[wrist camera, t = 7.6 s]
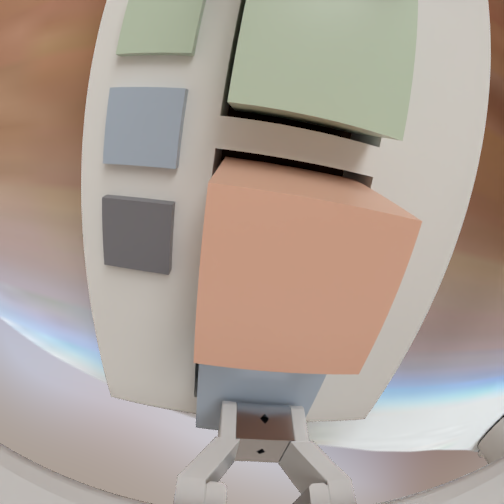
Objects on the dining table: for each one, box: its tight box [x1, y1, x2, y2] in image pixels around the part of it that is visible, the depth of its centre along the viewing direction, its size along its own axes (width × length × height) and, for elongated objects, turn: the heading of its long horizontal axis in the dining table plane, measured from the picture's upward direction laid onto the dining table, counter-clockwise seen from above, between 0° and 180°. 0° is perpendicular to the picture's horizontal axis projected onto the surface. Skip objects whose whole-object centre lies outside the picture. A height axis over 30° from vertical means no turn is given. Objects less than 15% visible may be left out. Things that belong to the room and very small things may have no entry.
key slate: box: [196, 364, 327, 430], centre depth 12 cm, size 4×4×4 cm
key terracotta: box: [193, 157, 422, 374], centre depth 8 cm, size 4×4×4 cm
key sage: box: [227, 0, 418, 141], centre depth 7 cm, size 4×4×4 cm
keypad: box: [81, 0, 491, 421], centre depth 10 cm, size 14×26×3 cm, turn 171°
